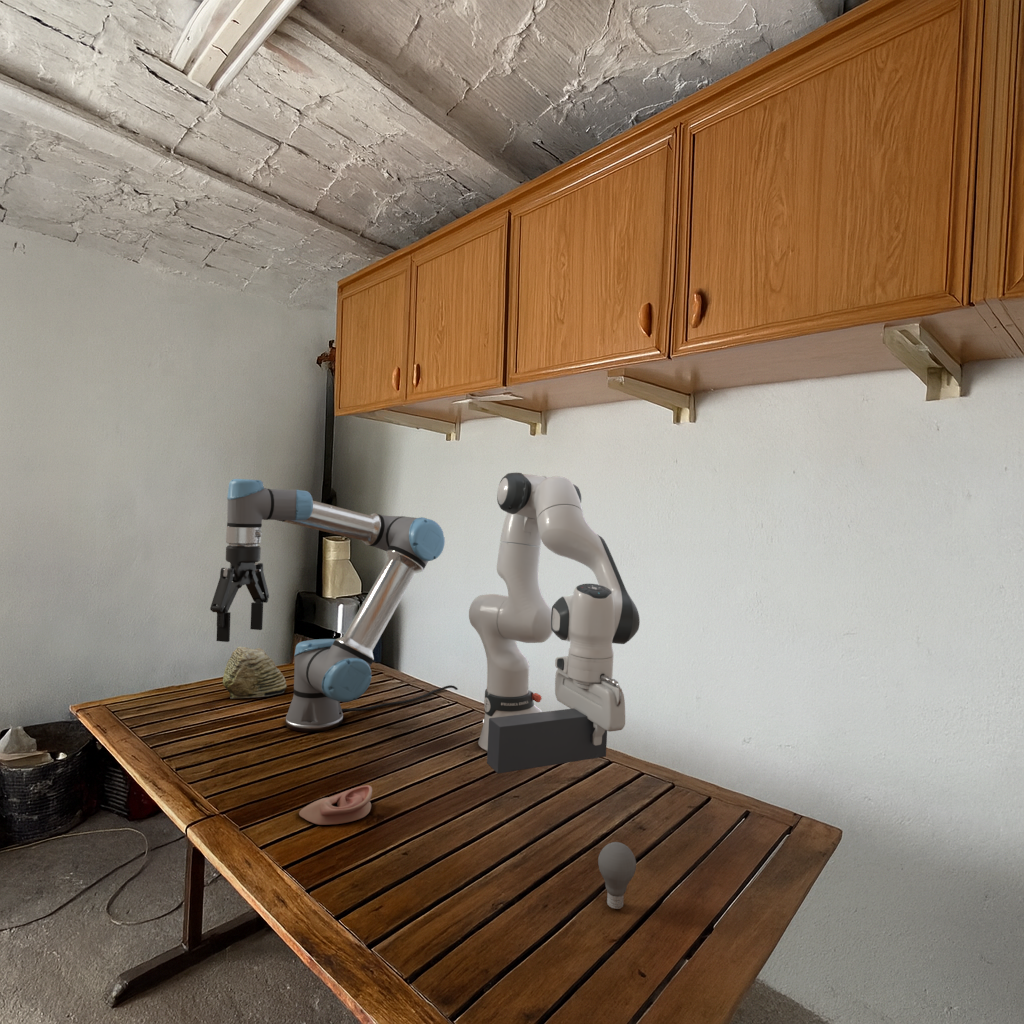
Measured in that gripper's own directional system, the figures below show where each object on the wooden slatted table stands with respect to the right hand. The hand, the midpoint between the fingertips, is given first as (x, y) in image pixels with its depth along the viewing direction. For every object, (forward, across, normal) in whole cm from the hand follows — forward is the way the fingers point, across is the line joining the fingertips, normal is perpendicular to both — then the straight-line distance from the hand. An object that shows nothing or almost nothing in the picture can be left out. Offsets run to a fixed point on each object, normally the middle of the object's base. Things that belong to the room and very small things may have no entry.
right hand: (586, 738), depth 125 cm
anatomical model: (+18, +24, +43) cm, 53 cm away
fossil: (+18, +107, +53) cm, 121 cm away
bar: (+3, 0, +9) cm, 9 cm away
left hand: (-11, +57, +60) cm, 84 cm away
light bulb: (+18, -22, +8) cm, 30 cm away
